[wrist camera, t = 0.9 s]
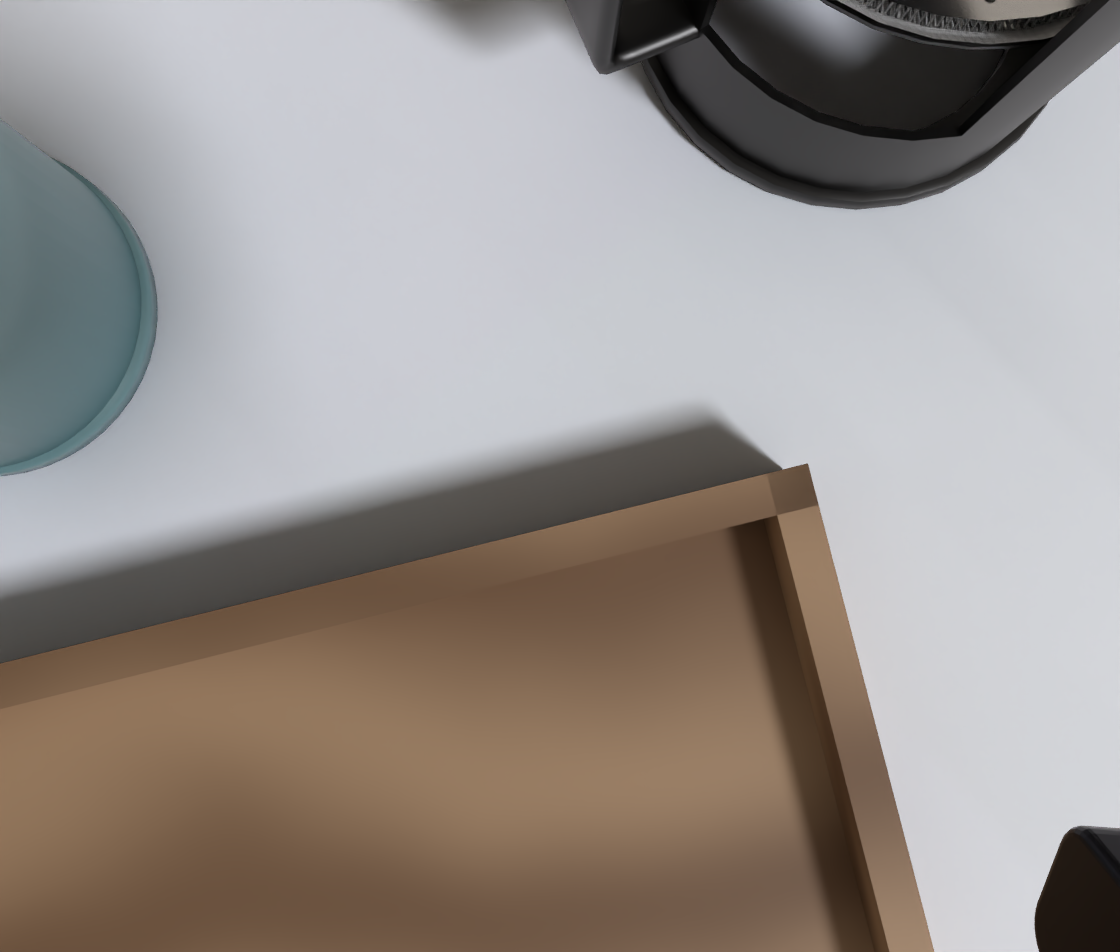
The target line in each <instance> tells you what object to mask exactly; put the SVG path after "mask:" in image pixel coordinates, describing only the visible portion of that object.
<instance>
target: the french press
mask: <svg viewBox="0 0 1120 952" xmlns="http://www.w3.org/2000/svg"><path fill="white" fill-rule="evenodd" d="M565 1H566V3H567V5H568V8H569V10H570V12H571V15H572V17H573V19H574V22H575V24H576V26H577V29H578V31H579V33H580V35H581V38H582V40H583V42H584V45H585V47H586V49H587V52H588V54H589V56H590V58H591V61H592V63H593V65H594V67H595V68H596V70H597V71H598V72H599V74H609V73H612V72H615V71H618V70H620V69H623V68H625V67H628V66H630V65H633V64H635V63H638V62H640V61H642V64H643V67H644V70H645V72H646V74H647V76H648V78H649V80H650V81H651V83H652V85H653V87H654V89H655V90H656V92H657V94H658V96H659V98H660V99H661V101H662V103H663V105H664V106H665V108H666V110H667V111H668V113H669V114H670V115H671V116H672V117H673V119H674V120H675V121H676V122H677V123H678V124H679V126H680V127H681V128H682V129H683V130H684V132H685V133H686V134H687V135H688V136H689V137H690V139H691V140H692V141H693V142H694V143H695V145H697V146H698V147H699V148H700V149H702V150H703V151H704V152H705V153H707V154H708V155H709V156H710V157H712V158H713V159H714V160H715V161H717V162H718V163H719V164H720V165H722V166H723V167H724V168H725V169H727V170H728V171H729V172H731V173H733V174H735V175H737V176H738V177H740V178H742V179H744V180H746V181H748V182H750V183H752V184H754V185H756V186H757V187H759V188H761V189H763V190H765V191H767V192H769V193H772V194H776V195H779V196H782V197H786V198H789V199H792V200H796V201H799V202H802V203H806V204H809V205H815V206H825V207H836V208H846V209H866V208H876V207H886V206H896V205H902V204H906V203H909V202H912V201H915V200H919V199H922V198H925V197H929V196H932V195H935V194H939V193H942V192H944V191H946V190H948V189H949V188H951V187H953V186H955V185H957V184H959V183H961V182H962V181H964V180H966V179H968V178H970V177H972V176H973V175H975V174H977V173H979V172H981V171H982V170H983V169H984V168H986V167H987V166H988V165H989V164H990V163H992V162H993V161H994V160H995V159H996V158H998V157H999V156H1000V155H1001V154H1002V153H1004V152H1005V151H1006V150H1007V149H1008V148H1010V147H1011V146H1012V145H1013V144H1014V143H1016V142H1017V141H1018V140H1019V139H1020V138H1021V137H1022V136H1023V134H1024V133H1025V132H1026V130H1027V129H1028V128H1029V127H1030V125H1031V124H1032V123H1033V122H1034V120H1035V119H1036V118H1037V117H1038V115H1039V114H1040V113H1041V111H1042V110H1043V109H1044V108H1045V106H1046V105H1047V103H1048V101H1049V100H1050V99H1052V98H1053V97H1054V96H1055V95H1056V94H1058V93H1059V92H1060V91H1061V90H1062V89H1064V88H1065V87H1066V86H1067V85H1068V84H1070V83H1071V82H1072V81H1073V80H1074V79H1076V78H1077V77H1078V76H1079V75H1080V74H1082V73H1083V72H1084V71H1085V70H1086V69H1088V68H1089V67H1090V66H1091V65H1092V64H1094V63H1095V62H1096V61H1097V60H1098V59H1100V58H1101V57H1102V56H1103V55H1104V54H1106V53H1107V52H1108V51H1109V50H1110V49H1112V48H1113V47H1114V46H1115V45H1116V44H1118V43H1119V42H1120V0H821V1H822V2H823V3H825V4H826V5H828V6H830V7H832V8H834V9H835V10H837V11H839V12H841V13H843V14H845V15H847V16H849V17H851V18H853V19H855V20H857V21H858V22H860V23H862V24H864V25H866V26H868V27H870V28H872V29H875V30H878V31H882V32H885V33H888V34H892V35H895V36H898V37H902V38H905V39H908V40H912V41H915V42H918V43H922V44H929V45H936V46H944V47H951V48H958V49H966V50H984V49H1005V51H1004V53H1003V55H1002V57H1001V59H1000V60H999V62H998V64H997V66H996V68H995V70H994V72H993V74H992V75H991V77H990V78H989V79H988V80H987V82H986V83H985V84H984V85H983V87H982V88H981V89H980V90H979V92H978V93H977V94H976V95H975V96H974V97H973V98H972V99H970V100H969V101H968V102H967V103H966V104H964V105H963V106H962V107H961V108H960V109H958V110H957V111H956V112H954V113H952V114H950V115H949V116H947V117H945V118H943V119H941V120H939V121H937V122H936V123H934V124H932V125H930V126H928V127H925V128H922V129H919V130H915V131H910V130H900V129H890V128H880V127H870V126H864V125H860V124H857V123H854V122H850V121H847V120H843V119H840V118H837V117H833V116H830V115H827V114H823V113H820V112H818V111H816V110H814V109H812V108H810V107H808V106H806V105H804V104H803V103H801V102H799V101H797V100H795V99H793V98H791V97H789V96H787V95H785V94H784V93H782V92H780V91H778V90H776V89H775V88H774V87H773V86H771V85H770V84H769V83H767V82H766V81H765V80H764V79H762V78H761V77H760V76H759V75H757V74H756V73H755V72H754V71H752V70H751V69H750V68H749V67H747V66H746V65H745V64H744V63H742V62H741V61H740V60H739V59H738V58H737V57H736V56H735V54H734V53H733V52H732V51H731V50H730V48H729V47H728V46H727V45H726V44H725V43H724V41H723V40H722V39H721V38H720V37H719V36H718V34H717V33H716V32H715V31H714V30H713V28H712V27H711V26H710V25H709V22H710V19H711V16H712V14H713V11H714V8H715V5H716V2H717V0H565Z"/></svg>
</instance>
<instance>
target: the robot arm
mask: <svg viewBox="0 0 1120 952" xmlns="http://www.w3.org/2000/svg"><path fill="white" fill-rule="evenodd" d="M1035 935H1036V941H1037V945H1038V949H1039V952H1120V828H1107V827H1094V826H1077V827H1073V828H1072V829H1070V830H1069V831H1068V832H1067V833H1066V834H1065V835H1064V837H1063V839H1062V841H1061V843H1060V846H1059V848H1058V851H1057V854H1056V856H1055V859H1054V861H1053V864H1052V867H1051V869H1050V872H1049V874H1048V877H1047V879H1046V882H1045V885H1044V887H1043V890H1042V892H1041V895H1040V898H1039V900H1038V903H1037V907H1036V912H1035Z"/></svg>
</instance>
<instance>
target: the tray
mask: <svg viewBox="0 0 1120 952" xmlns="http://www.w3.org/2000/svg"><path fill="white" fill-rule="evenodd" d="M0 952H934V949H933V945H932V941H931V937H930V934H929V930H928V926H927V922H926V918H925V914H924V910H923V907H922V903H921V899H920V895H919V891H918V887H917V883H916V880H915V876H914V872H913V868H912V864H911V860H910V856H909V852H908V849H907V845H906V841H905V837H904V833H903V829H902V825H901V822H900V818H899V814H898V810H897V806H896V802H895V798H894V795H893V791H892V787H891V783H890V779H889V775H888V771H887V768H886V764H885V760H884V756H883V752H882V748H881V744H880V741H879V737H878V733H877V729H876V725H875V721H874V717H873V714H872V710H871V706H870V702H869V698H868V694H867V690H866V686H865V683H864V679H863V675H862V671H861V667H860V663H859V659H858V656H857V652H856V648H855V644H854V640H853V636H852V632H851V629H850V625H849V621H848V617H847V613H846V609H845V605H844V602H843V598H842V594H841V590H840V586H839V582H838V578H837V575H836V571H835V567H834V563H833V559H832V555H831V551H830V547H829V544H828V540H827V536H826V532H825V528H824V524H823V520H822V517H821V513H820V509H819V505H818V501H817V497H816V493H815V490H814V486H813V482H812V478H811V474H810V470H809V466H808V464H804V465H799V466H795V467H791V468H787V469H783V470H779V471H775V472H771V473H767V474H763V475H759V476H755V477H751V478H747V479H743V480H739V481H735V482H731V483H727V484H723V485H719V486H715V487H711V488H707V489H702V490H698V491H694V492H690V493H686V494H682V495H678V496H674V497H670V498H666V499H662V500H658V501H654V502H650V503H646V504H642V505H638V506H634V507H630V508H626V509H622V510H618V511H614V512H610V513H606V514H602V515H598V516H594V517H590V518H585V519H581V520H577V521H573V522H569V523H565V524H561V525H557V526H553V527H549V528H545V529H541V530H537V531H533V532H529V533H525V534H521V535H517V536H513V537H509V538H505V539H501V540H497V541H493V542H489V543H485V544H481V545H477V546H472V547H468V548H464V549H460V550H456V551H452V552H448V553H444V554H440V555H436V556H432V557H428V558H424V559H420V560H416V561H412V562H408V563H404V564H400V565H396V566H392V567H388V568H384V569H380V570H376V571H372V572H368V573H364V574H359V575H355V576H351V577H347V578H343V579H339V580H335V581H331V582H327V583H323V584H319V585H315V586H311V587H307V588H303V589H299V590H295V591H291V592H287V593H283V594H279V595H275V596H271V597H267V598H263V599H259V600H255V601H251V602H247V603H242V604H238V605H234V606H230V607H226V608H222V609H218V610H214V611H210V612H206V613H202V614H198V615H194V616H190V617H186V618H182V619H178V620H174V621H170V622H166V623H162V624H158V625H154V626H150V627H146V628H142V629H138V630H134V631H129V632H125V633H121V634H117V635H113V636H109V637H105V638H101V639H97V640H93V641H89V642H85V643H81V644H77V645H73V646H69V647H65V648H61V649H57V650H53V651H49V652H45V653H41V654H37V655H33V656H29V657H25V658H21V659H17V660H12V661H8V662H4V663H0Z"/></svg>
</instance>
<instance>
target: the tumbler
mask: <svg viewBox="0 0 1120 952" xmlns="http://www.w3.org/2000/svg"><path fill="white" fill-rule="evenodd" d="M156 327H157V294H156V288H155V281H154V276H153V273H152V269H151V266H150V262H149V259H148V256H147V254H146V252H145V249H144V247H143V245H142V243H141V240H140V238H139V236H138V235H137V233H136V232H135V230H134V228H133V227H132V225H131V224H130V222H129V220H128V219H127V218H126V217H125V215H124V214H123V213H122V212H121V211H120V209H119V208H118V207H117V206H116V205H115V203H113V202H112V201H111V200H110V199H109V198H108V197H107V196H106V195H105V194H104V193H103V192H102V191H101V190H99V189H98V188H97V187H96V186H94V185H93V184H92V183H91V182H89V181H88V180H87V179H85V178H84V177H83V176H81V175H80V174H78V173H77V172H76V171H74V170H73V169H71V168H70V167H68V166H66V165H64V164H62V163H61V162H59V161H57V160H55V159H53V158H51V157H49V156H48V155H46V154H45V153H44V152H43V151H41V150H40V149H39V148H37V147H36V146H35V145H34V144H32V143H31V142H30V141H28V140H27V139H26V138H25V137H23V136H22V135H21V134H19V133H18V132H17V131H16V130H14V129H13V128H12V127H10V126H9V125H8V124H7V123H5V122H4V121H3V120H1V119H0V476H7V475H13V474H19V473H25V472H29V471H33V470H36V469H39V468H43V467H46V466H49V465H51V464H53V463H55V462H58V461H60V460H62V459H64V458H67V457H69V456H70V455H72V454H73V453H75V452H77V451H78V450H80V449H82V448H83V447H85V446H87V445H88V444H89V443H90V442H92V441H93V440H94V439H95V438H97V437H98V436H99V435H100V434H102V433H103V432H104V431H105V430H106V429H107V428H108V427H109V426H110V425H111V424H112V423H113V422H114V421H115V419H116V418H117V417H118V416H119V415H120V414H121V412H122V411H123V410H124V408H125V407H126V406H127V404H128V403H129V402H130V400H131V399H132V397H133V395H134V393H135V392H136V390H137V388H138V386H139V385H140V383H141V381H142V379H143V376H144V374H145V371H146V369H147V366H148V364H149V361H150V358H151V354H152V350H153V346H154V342H155V335H156Z"/></svg>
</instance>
